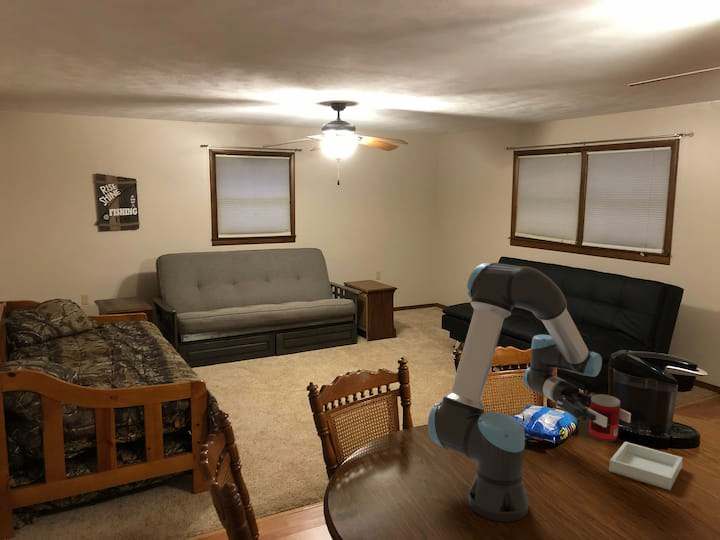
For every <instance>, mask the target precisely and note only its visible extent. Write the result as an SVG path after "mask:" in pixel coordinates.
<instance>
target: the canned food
mask: <svg viewBox="0 0 720 540" xmlns="http://www.w3.org/2000/svg"><path fill="white" fill-rule="evenodd" d="M589 409H591V410H593V411H595V412H597V413H599V414H601V415H603V416H605V417H607V427H603V426H601V425H599V424H597V423H595V422H593V421H592V420H590V419H589V421H588V422H589V424H588V433H589V435H590V436H591V437H592V438H593V439H595V440H598V441H603V442H614V441H616V440H617V438H618V435H619V422H620V419H619V413H620V409H621V400H620V399H619V398H617V397H615V396H613V395H610V394H604V393H603V394H602V393H600V394H599V393H598V394H596V395H593V396H592V397H591V406H590V408H589Z"/></svg>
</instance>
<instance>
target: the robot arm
mask: <svg viewBox="0 0 720 540" xmlns="http://www.w3.org/2000/svg"><path fill="white" fill-rule="evenodd" d="M466 287H467V288H466V289H467V290H466V291H467V295H468V297H469V298H470V299H471V301H470V305H471V307H472V308H473V314H472V317H471V319H470V320H471V321H470V324H469V328H468V331H467V334H466V338H465V341H464V344H463V348H462V352H461V355H460V359H459V363H458V366H457V369H456V373H455V376H454V380H453V384H452V386H451V390H450V392H448V393H446V394H444V395H443V397H442V401H439V402H436V403H435V404H433V405H434V406H433V407H431V409H430V411H429V414H428V420H427V429H428V434H429V437H430V438H431V441H433V442H434V443H435V444H436V445H439V446H440V447H442V448H443V449H444V450H448V451H449V450H450V451H451V452H454V453H457V454H458V455H461V456H464V457H466V458H468V459H471V460H473V461H475V462H476V472H475V473H476V474H475V475H474V479H473V481H472V483H471V486H470V489H469V491H468V505H469V507H470V508H471V509H472V511H473V512H475V513H476V514H477V515H479V516H480V517H483V518H484V519H488V520H492V521H495V522H503V523H506V522H507V523H508V522H515V521H519V520H521V519H523V518H524V517H526V516H527V514H528V513H529V512H528V511H529V499H528V495H527V491H526V488H525V485H524V482H523V476H524V460H525V459H524V456H525V446H526V437H525V435H526V434H525V428H524V427H523V425H522V424H521V422H520V421H518V420H517V418H516V419H515V418H514V417H513V416H511V415H508V414H505V413H503V412H502V413H501V412H498V413H497V412H495V411H486V412H485V406H484V405H483V402H482V400H483V396H484V392H485V389H486V385H487V381H488V378H489V374H490V370H491V367H492V364H493V359H494V356H495V353H496V349H497V345H498V342H499V339H500V335H501V331H502V327H503V323H504V320H505V319H506V318H508V317H510V316H511V315H512V312H513V308H517V309H518V308H519V309H523V310H526V311H529V312H531V313H532V314H533V316H534V317H535V318H536V319H538V320H540V321H541V322H542V323H543V325H544V327H545V329H546V330H547V332H548V333H549V334H537V335H534V336H533V337H532V339H531V347H530V366H529V367H527V368H526V369H525V370H524V373H523V375H522V382H523V384H524V385H525V386H526V387H527V388H529V390H531V391H533V392H534V393H535V392H536V393H538V394H540V395H541V396H543V397H545V398H547V399H549V400H551V401H552V402H554V403H556V406H557V407H559V408H562V409H563V410H564V411H566V412H567V413H569V414H570V415H572V416H573V417H575V418H577V419H579V418H581V420H582V421H587V419H588V420H589V421H590V420H592V421H593V422H595V423H597V424H599V425H601V426H603V427H607V417H605V416H603V415H601V414H599V413H597V412H595V411H593V410H591V409H590V406H591V397H592V396H593V395H597V394H596V393H595V392H594V391H593V392H592V391H591V392H590V391H589V394H586V393H584V392H581V391H580V390H579V389H578V387H577V386H576V385H575V384H573V383H570V382H569V381H566V380H565V379H562V378H560V377H558V376H556V375H554V373H555V372H554V371H555V369H559V370H563V371H567V372H571V373H574V374H578V375H582V376H586V377H593V378H594V377H597V376H598V375H599V374H600V372H601V369H602V367H603V366H602V365H603V359H602V356H601V354H600V353H598V352H594V351H589V349H588V346H587V345H586V343H585V342H584V340H583V337H582V335H581V334H580V331H579V330H578V328H577V326H576V324H575V322H574V320H573V318H572V316H571V315H570V313H569V311H568V309H567V305H568V304H567V299H566V297H565V295H564V293H563V291H562V290H561V288H559V287H558V285H557V284H556V283H555V281H553V280H552V279H551V278H550V277H549V276H548V275H546V274H544V272H542V271H539V270H538V269H536V268H533V267H530V266H521V265H515V264H513V265H512V264H507V263H501V262H500V263H499V262H483V263H480V264H478V265H477V266H476V267H474V269H473V270H472V272H471V273H470V275H469V277H468V280H467V285H466ZM631 416H632V413H631V412H629V411H627V410H625V409H623V408H620V413H619V420H621V421H623V422H625V423H627V424H630V423H631Z"/></svg>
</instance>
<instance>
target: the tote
mask: <svg viewBox="0 0 720 540" xmlns="http://www.w3.org/2000/svg"><path fill="white" fill-rule="evenodd" d="M683 460H684V459H683V457H682V456H680V455H674V454H671V453H668V452H664V451H662V450H657V449H653V448H651V447H650V448H649V447H647V446H643V445H641V444H640V445H639V444H635V443H631V442H629V441H624V442H623V443H622V444H621V446H620V447H619V448H618V449H617V451H616V452H615V453H614V455H613V456H611V458H610V459H609V466H608V468H609V469H608V471H609V472H611V473H614V474H616V475H620V476H624V477H626V478H630V479H633V480H636V481H639V482H643V483H646V484H648V485H650V486H651V485H652V486H655V487H657V488H658V487H659V488H662V489H665V490H667V491H672V488H673V486H674V484H675V482H676V480H677V478H678V476H679V474H680V472H681V470H682V467H683Z"/></svg>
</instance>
